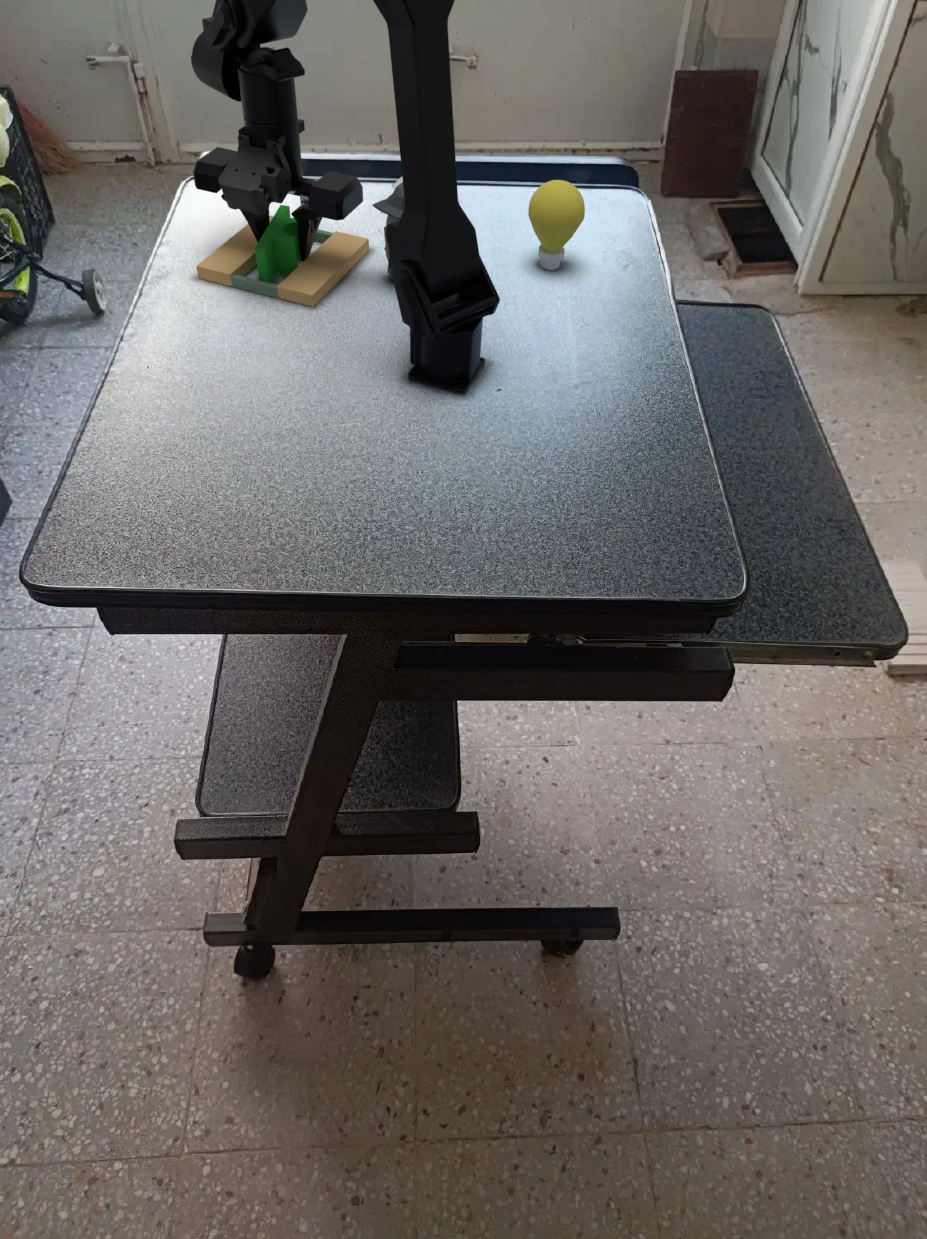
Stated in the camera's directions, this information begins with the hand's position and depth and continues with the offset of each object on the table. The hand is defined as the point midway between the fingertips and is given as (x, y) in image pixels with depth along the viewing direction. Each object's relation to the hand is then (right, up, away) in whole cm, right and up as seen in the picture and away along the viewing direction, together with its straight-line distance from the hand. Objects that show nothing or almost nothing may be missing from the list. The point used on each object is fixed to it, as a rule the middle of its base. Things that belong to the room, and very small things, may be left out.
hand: (285, 256), depth 107 cm
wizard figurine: (+15, -4, -1) cm, 15 cm away
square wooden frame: (0, -1, +1) cm, 1 cm away
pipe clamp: (0, -1, +1) cm, 1 cm away
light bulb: (+32, 0, +4) cm, 32 cm away
